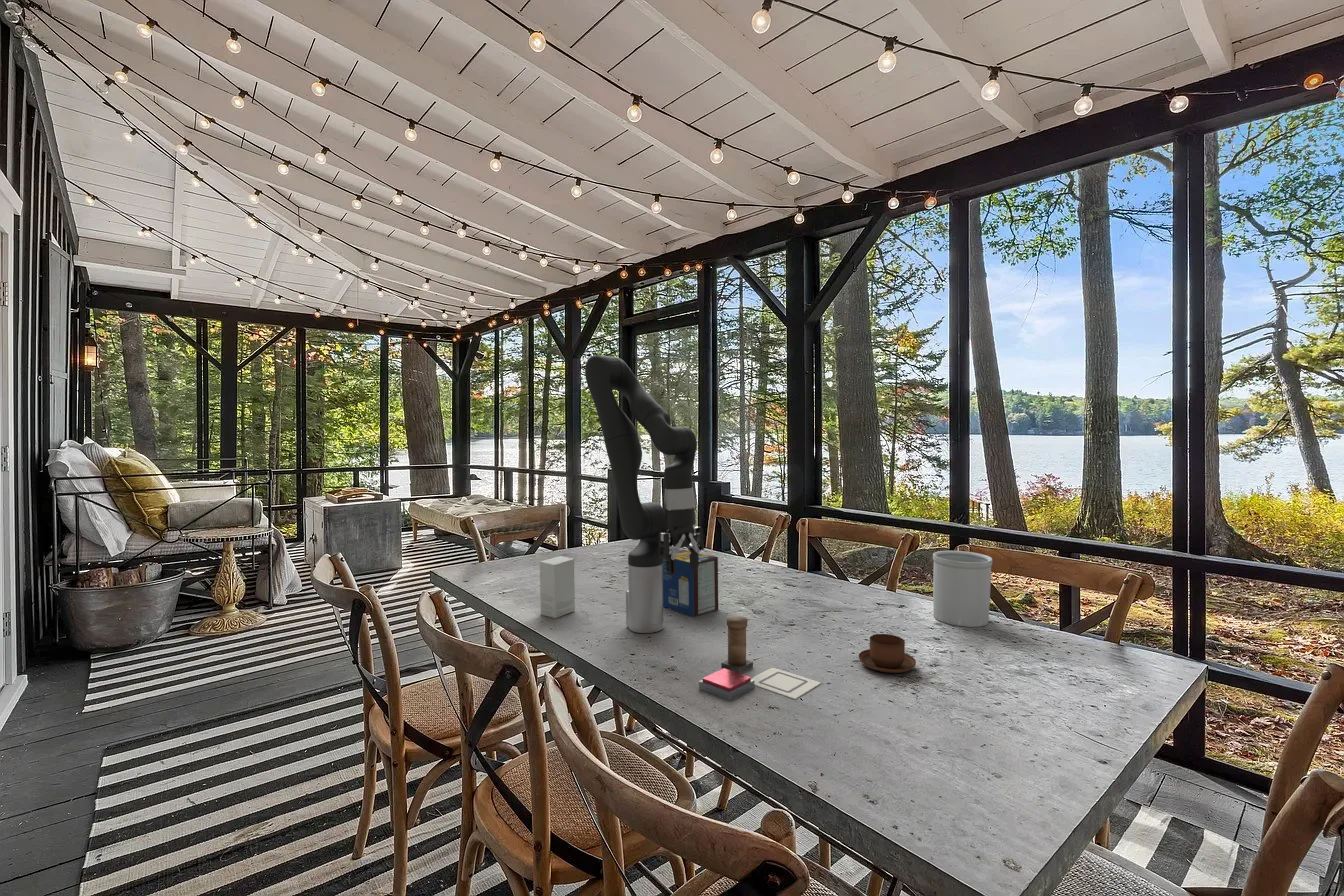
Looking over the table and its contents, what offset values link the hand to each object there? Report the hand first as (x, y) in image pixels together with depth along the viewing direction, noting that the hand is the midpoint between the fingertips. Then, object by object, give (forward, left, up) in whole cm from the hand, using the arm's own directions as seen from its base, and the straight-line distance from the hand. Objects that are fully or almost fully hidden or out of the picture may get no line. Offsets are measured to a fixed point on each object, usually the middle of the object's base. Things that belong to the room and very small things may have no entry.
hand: (683, 571), depth 153 cm
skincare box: (-41, -8, -18) cm, 46 cm away
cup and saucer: (+45, +18, -18) cm, 51 cm away
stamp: (+21, -5, -17) cm, 27 cm away
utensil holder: (+46, +63, -18) cm, 80 cm away
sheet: (+33, -5, -17) cm, 37 cm away
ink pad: (+26, -15, -17) cm, 34 cm away
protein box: (-17, +21, -18) cm, 32 cm away
